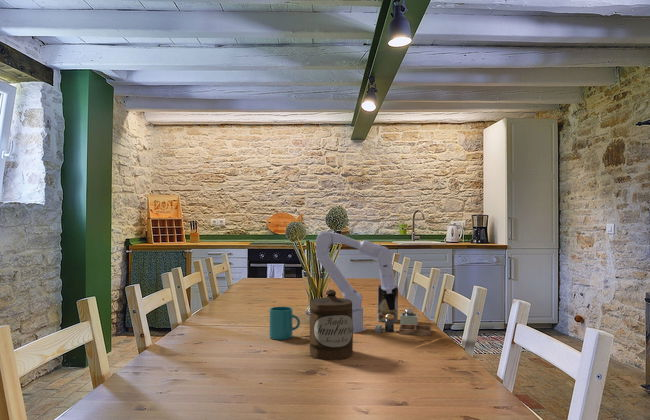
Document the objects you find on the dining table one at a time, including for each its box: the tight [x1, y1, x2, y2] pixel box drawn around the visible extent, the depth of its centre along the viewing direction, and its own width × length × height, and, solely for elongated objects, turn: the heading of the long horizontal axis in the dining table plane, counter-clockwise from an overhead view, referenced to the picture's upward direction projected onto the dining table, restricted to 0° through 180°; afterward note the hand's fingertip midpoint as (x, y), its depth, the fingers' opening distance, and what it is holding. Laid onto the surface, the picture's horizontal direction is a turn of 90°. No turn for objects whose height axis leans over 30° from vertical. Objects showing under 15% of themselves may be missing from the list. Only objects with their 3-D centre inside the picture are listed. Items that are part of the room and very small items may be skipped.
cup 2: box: [399, 312, 419, 325], centre depth 200 cm, size 7×7×5 cm
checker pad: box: [374, 324, 398, 334], centre depth 189 cm, size 9×8×2 cm
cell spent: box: [404, 308, 414, 316], centre depth 200 cm, size 4×4×7 cm
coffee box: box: [376, 284, 399, 323], centre depth 209 cm, size 9×6×16 cm
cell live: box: [384, 314, 395, 333], centre depth 189 cm, size 4×4×7 cm
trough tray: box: [398, 324, 432, 337], centre depth 187 cm, size 12×10×3 cm
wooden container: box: [309, 289, 354, 361], centre depth 159 cm, size 15×15×22 cm
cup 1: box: [268, 306, 301, 341], centre depth 180 cm, size 9×12×11 cm
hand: (391, 308), depth 190 cm, fingers open, 7 cm apart
